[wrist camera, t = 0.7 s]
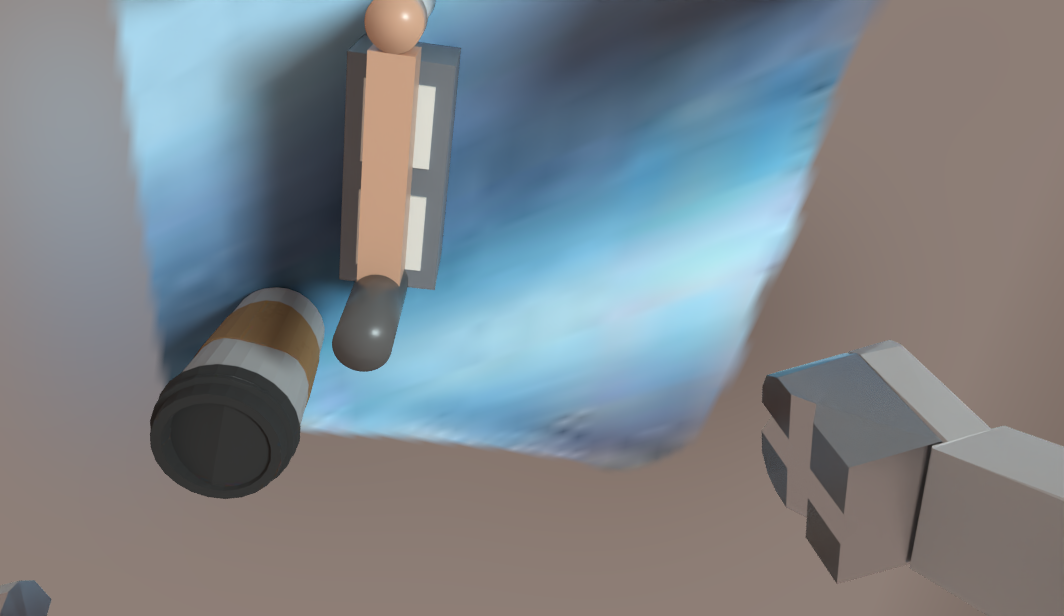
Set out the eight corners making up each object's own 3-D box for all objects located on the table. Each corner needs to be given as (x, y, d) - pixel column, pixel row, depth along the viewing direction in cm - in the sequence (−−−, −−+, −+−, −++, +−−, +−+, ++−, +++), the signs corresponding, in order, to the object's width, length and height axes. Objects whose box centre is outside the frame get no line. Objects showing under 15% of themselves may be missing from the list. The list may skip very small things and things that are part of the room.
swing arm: (373, -17, 41) (343, 2, 34) (431, -9, 41) (415, 12, 34) (358, 296, 49) (331, 368, 42) (407, 301, 49) (389, 374, 42)
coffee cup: (216, 356, 60) (133, 488, 47) (232, 257, 56) (147, 369, 43) (328, 383, 61) (278, 518, 48) (350, 288, 58) (303, 406, 44)
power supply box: (361, -31, 48) (338, -19, 42) (466, -15, 49) (460, -1, 42) (350, 242, 56) (329, 289, 49) (441, 252, 57) (432, 301, 50)
